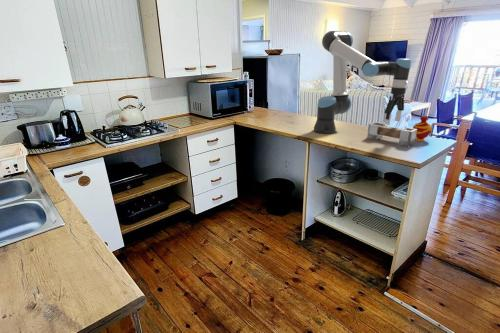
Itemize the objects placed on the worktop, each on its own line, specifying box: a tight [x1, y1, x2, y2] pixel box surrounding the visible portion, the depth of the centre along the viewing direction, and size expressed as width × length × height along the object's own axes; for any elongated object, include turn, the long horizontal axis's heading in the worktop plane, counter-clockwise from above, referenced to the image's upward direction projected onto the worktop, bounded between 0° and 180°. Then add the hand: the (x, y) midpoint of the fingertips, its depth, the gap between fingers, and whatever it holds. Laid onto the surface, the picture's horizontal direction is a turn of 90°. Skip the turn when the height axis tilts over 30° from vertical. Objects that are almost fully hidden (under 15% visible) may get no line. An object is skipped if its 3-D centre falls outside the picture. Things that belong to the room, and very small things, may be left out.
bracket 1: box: [366, 121, 385, 141], centre depth 187 cm, size 6×8×9 cm
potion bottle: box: [412, 115, 433, 142], centre depth 180 cm, size 10×10×15 cm
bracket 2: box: [398, 127, 418, 148], centre depth 173 cm, size 6×8×9 cm
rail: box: [378, 125, 410, 139], centre depth 180 cm, size 20×4×5 cm, turn 42°
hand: (392, 122), depth 178 cm, fingers open, 13 cm apart
